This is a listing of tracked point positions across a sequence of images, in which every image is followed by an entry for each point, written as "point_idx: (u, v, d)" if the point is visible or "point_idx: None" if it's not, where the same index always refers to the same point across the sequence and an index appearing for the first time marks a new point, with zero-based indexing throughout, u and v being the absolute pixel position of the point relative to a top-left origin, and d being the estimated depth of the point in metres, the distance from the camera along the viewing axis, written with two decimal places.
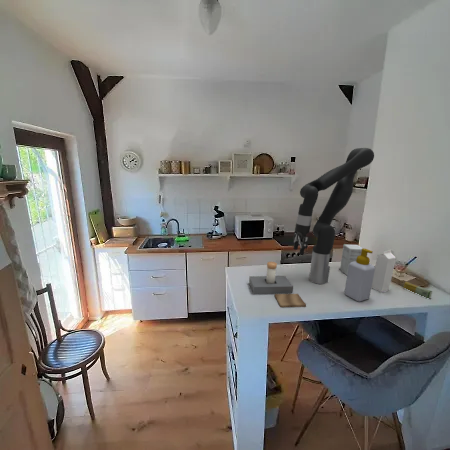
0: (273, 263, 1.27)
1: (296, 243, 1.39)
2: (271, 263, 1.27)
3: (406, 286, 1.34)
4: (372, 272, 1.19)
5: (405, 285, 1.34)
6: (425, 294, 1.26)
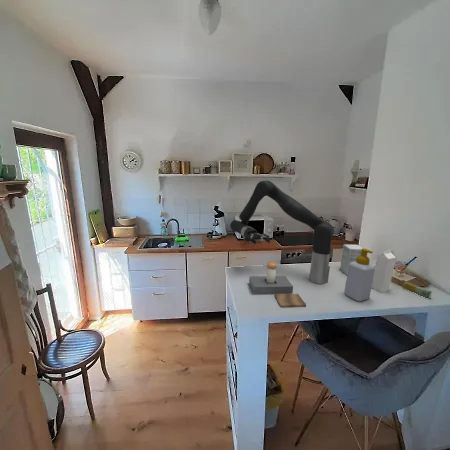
0: (273, 263, 1.27)
1: (265, 239, 1.40)
2: (271, 263, 1.27)
3: (406, 286, 1.34)
4: (372, 272, 1.19)
5: (405, 285, 1.34)
6: (424, 294, 1.26)
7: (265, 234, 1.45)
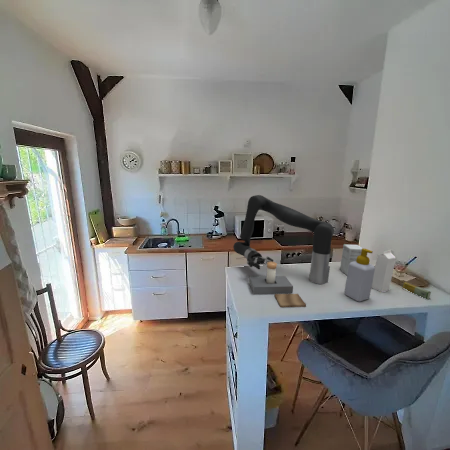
0: (273, 263, 1.27)
1: None
2: (271, 263, 1.27)
3: (405, 287, 1.33)
4: (372, 272, 1.19)
5: (404, 285, 1.34)
6: (424, 294, 1.26)
7: None
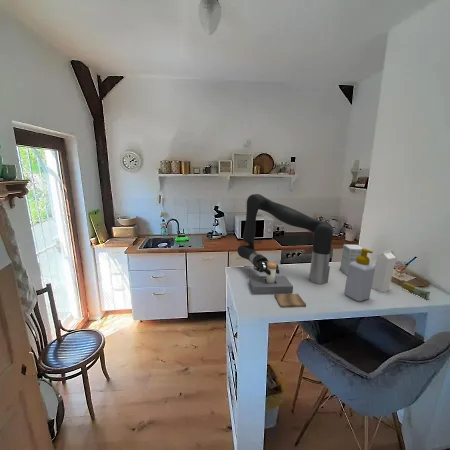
0: (273, 263, 1.27)
1: None
2: (271, 263, 1.27)
3: (405, 287, 1.33)
4: (372, 272, 1.19)
5: (403, 285, 1.34)
6: (422, 295, 1.26)
7: None
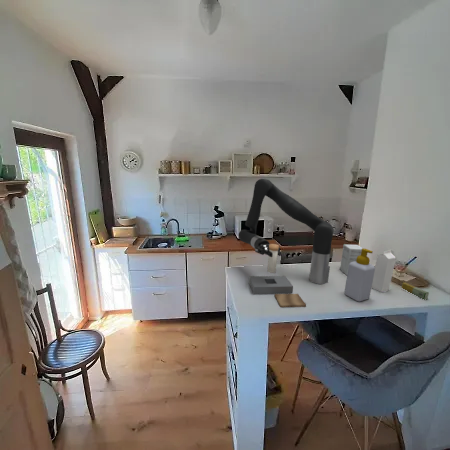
0: (275, 245, 1.25)
1: None
2: (273, 245, 1.25)
3: (404, 287, 1.33)
4: (372, 272, 1.19)
5: (403, 285, 1.34)
6: (421, 295, 1.25)
7: None
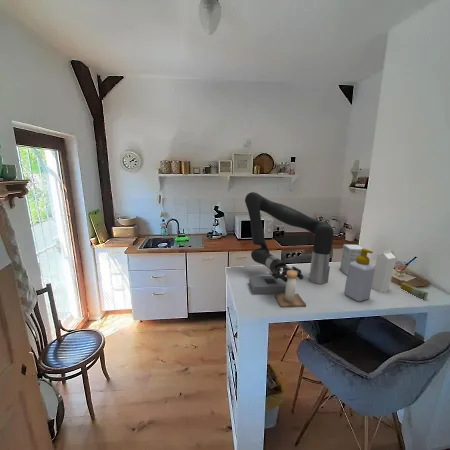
0: (293, 272, 1.15)
1: None
2: (291, 272, 1.15)
3: (403, 287, 1.33)
4: (372, 272, 1.19)
5: (402, 286, 1.33)
6: (420, 295, 1.25)
7: (295, 267, 1.24)
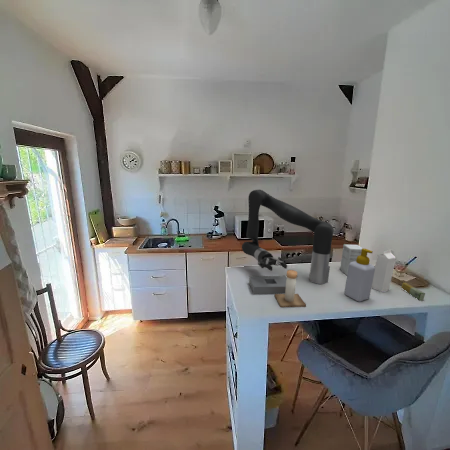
0: (293, 272, 1.15)
1: (281, 264, 1.31)
2: (291, 272, 1.15)
3: (403, 287, 1.33)
4: (372, 272, 1.19)
5: (402, 285, 1.34)
6: (417, 295, 1.25)
7: (281, 258, 1.35)
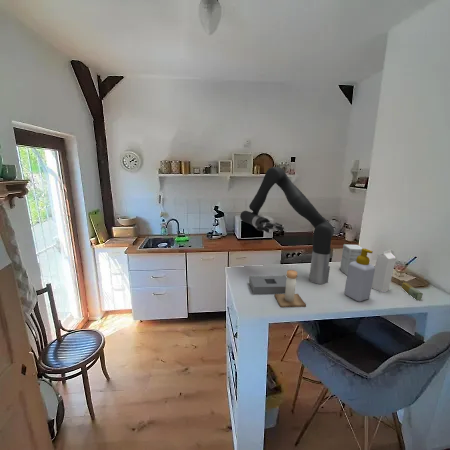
0: (293, 272, 1.15)
1: (278, 228, 1.34)
2: (291, 272, 1.15)
3: (403, 286, 1.34)
4: (372, 272, 1.19)
5: (402, 285, 1.34)
6: (414, 295, 1.25)
7: (278, 223, 1.39)
